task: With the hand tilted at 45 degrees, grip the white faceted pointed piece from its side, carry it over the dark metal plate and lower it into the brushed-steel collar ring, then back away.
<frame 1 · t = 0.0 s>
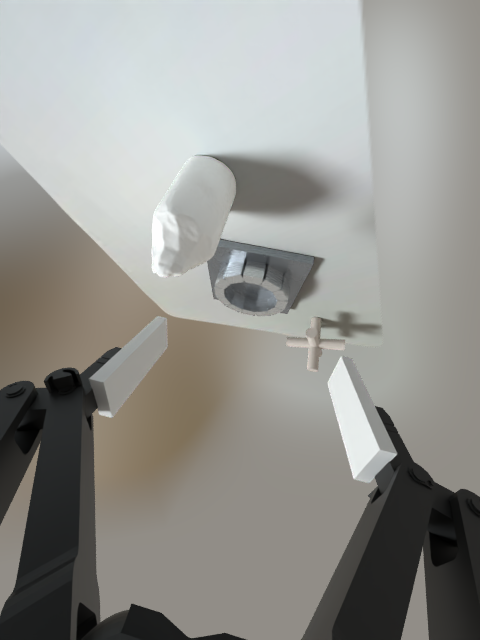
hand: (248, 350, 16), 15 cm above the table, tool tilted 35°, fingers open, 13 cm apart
pipe connector: (316, 318, 41), on the table
white faceted pointed piece: (208, 182, 21), on the table
collar: (254, 278, 33), on the table
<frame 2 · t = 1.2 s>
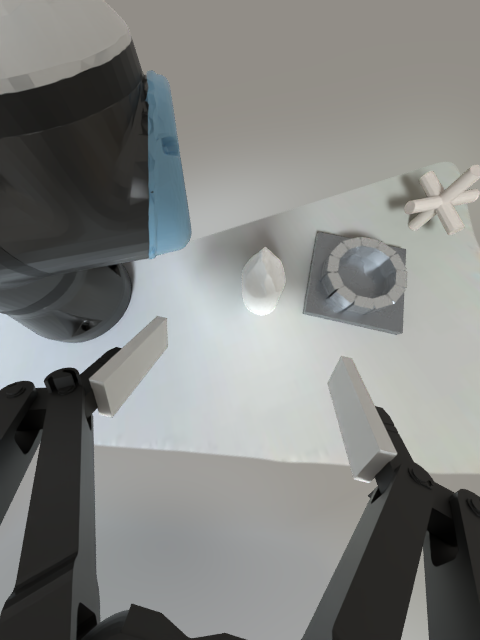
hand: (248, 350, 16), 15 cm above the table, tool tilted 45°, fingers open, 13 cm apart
pipe connector: (412, 226, 36), on the table
white faceted pointed piece: (259, 298, 33), on the table
collar: (353, 282, 33), on the table
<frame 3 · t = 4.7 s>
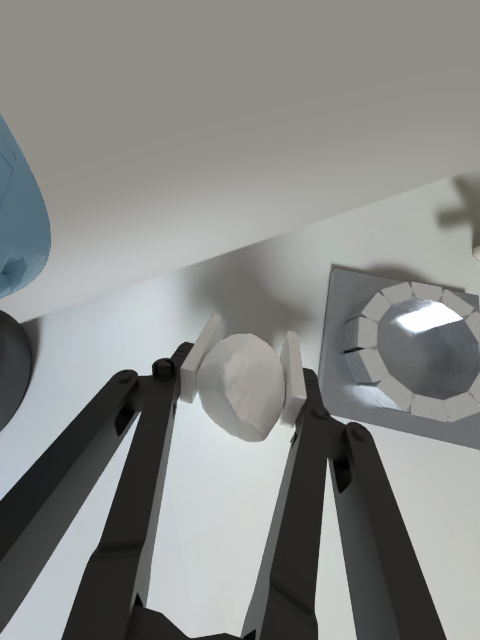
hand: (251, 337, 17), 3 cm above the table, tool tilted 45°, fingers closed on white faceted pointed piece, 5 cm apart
pipe connector: (479, 255, 23), on the table
white faceted pointed piece: (241, 381, 20), on the table, touching gripper
collar: (395, 351, 20), on the table
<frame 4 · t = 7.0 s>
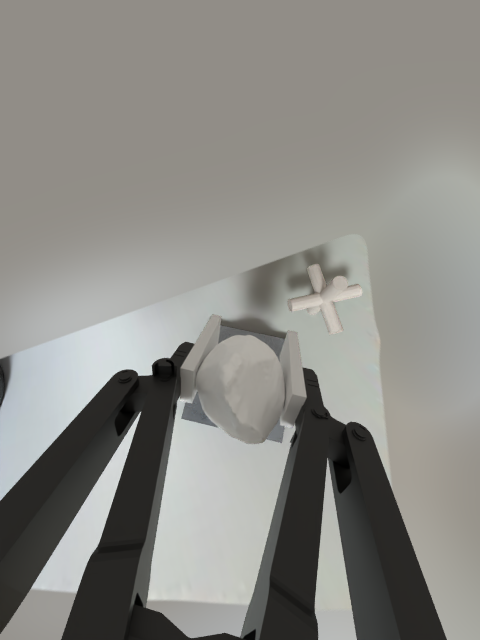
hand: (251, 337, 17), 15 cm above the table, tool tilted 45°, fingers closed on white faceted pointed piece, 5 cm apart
pipe connector: (312, 310, 34), on the table
white faceted pointed piece: (241, 382, 20), point 12 cm above the table, touching gripper
collar: (241, 378, 31), on the table
when the fingers open (6 cm above the table, at t = 9.3 s): white faceted pointed piece drops 2 cm, resting on collar.
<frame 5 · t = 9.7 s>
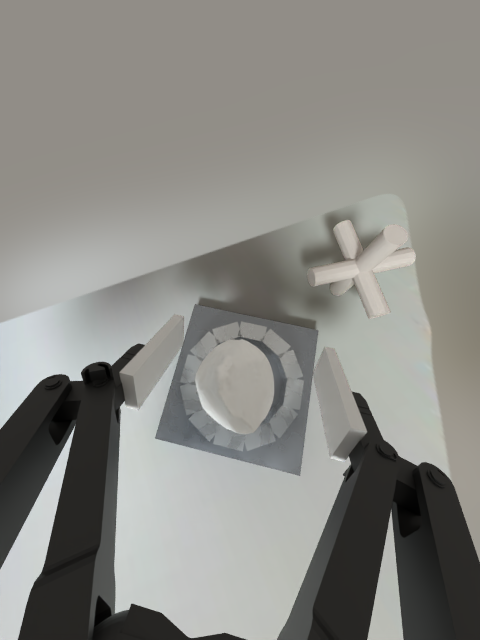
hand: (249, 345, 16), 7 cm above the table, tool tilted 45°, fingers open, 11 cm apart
pipe connector: (336, 289, 26), on the table
white faceted pointed piece: (238, 381, 22), point 1 cm above the table, touching collar
collar: (241, 380, 23), on the table
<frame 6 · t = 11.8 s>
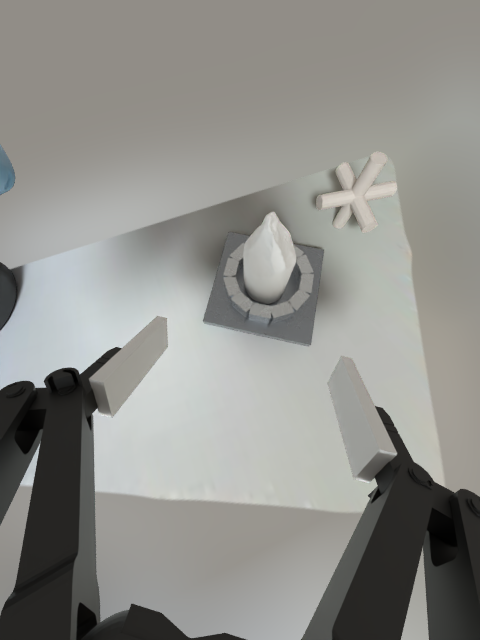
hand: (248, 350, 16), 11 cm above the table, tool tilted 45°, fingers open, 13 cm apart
pipe connector: (338, 224, 33), on the table
white faceted pointed piece: (263, 284, 29), point 1 cm above the table, touching collar
collar: (265, 287, 30), on the table
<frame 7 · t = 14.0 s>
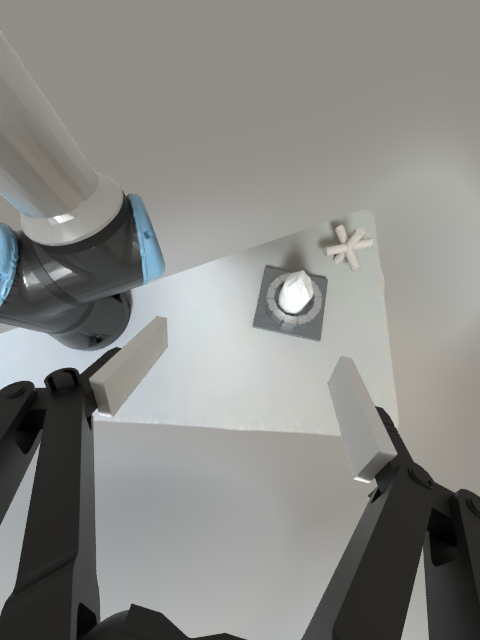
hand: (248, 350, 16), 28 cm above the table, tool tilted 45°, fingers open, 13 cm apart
pipe connector: (336, 260, 49), on the table
white faceted pointed piece: (289, 302, 45), point 1 cm above the table, touching collar
collar: (290, 303, 46), on the table
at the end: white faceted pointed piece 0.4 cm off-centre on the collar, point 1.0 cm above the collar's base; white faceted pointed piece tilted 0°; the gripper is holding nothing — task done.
